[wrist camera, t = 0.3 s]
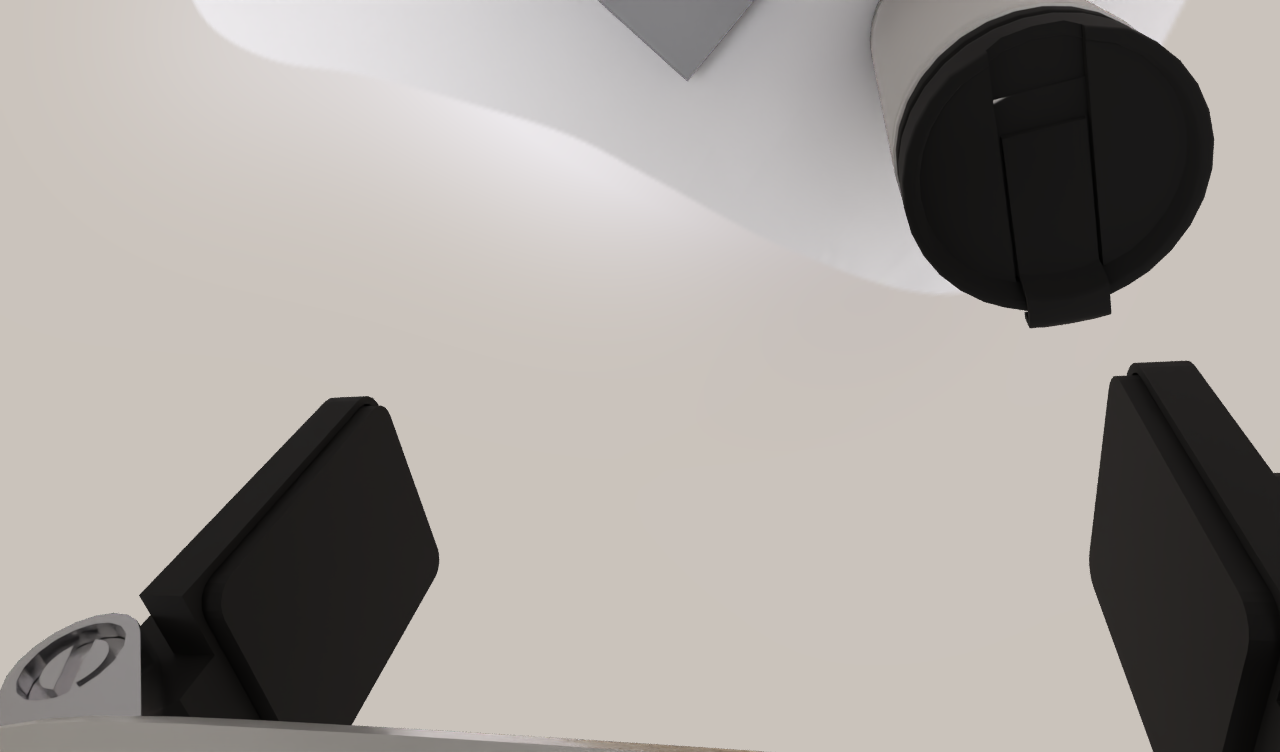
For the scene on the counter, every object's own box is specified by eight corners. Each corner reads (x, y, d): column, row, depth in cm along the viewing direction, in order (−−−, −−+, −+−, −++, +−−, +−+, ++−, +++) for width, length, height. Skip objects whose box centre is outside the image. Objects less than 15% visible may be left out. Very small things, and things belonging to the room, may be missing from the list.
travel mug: (885, 133, 37) (928, 354, 20) (856, -26, 34) (878, 78, 17) (1040, 94, 35) (1229, 302, 18) (1023, -79, 32) (1230, -19, 15)
